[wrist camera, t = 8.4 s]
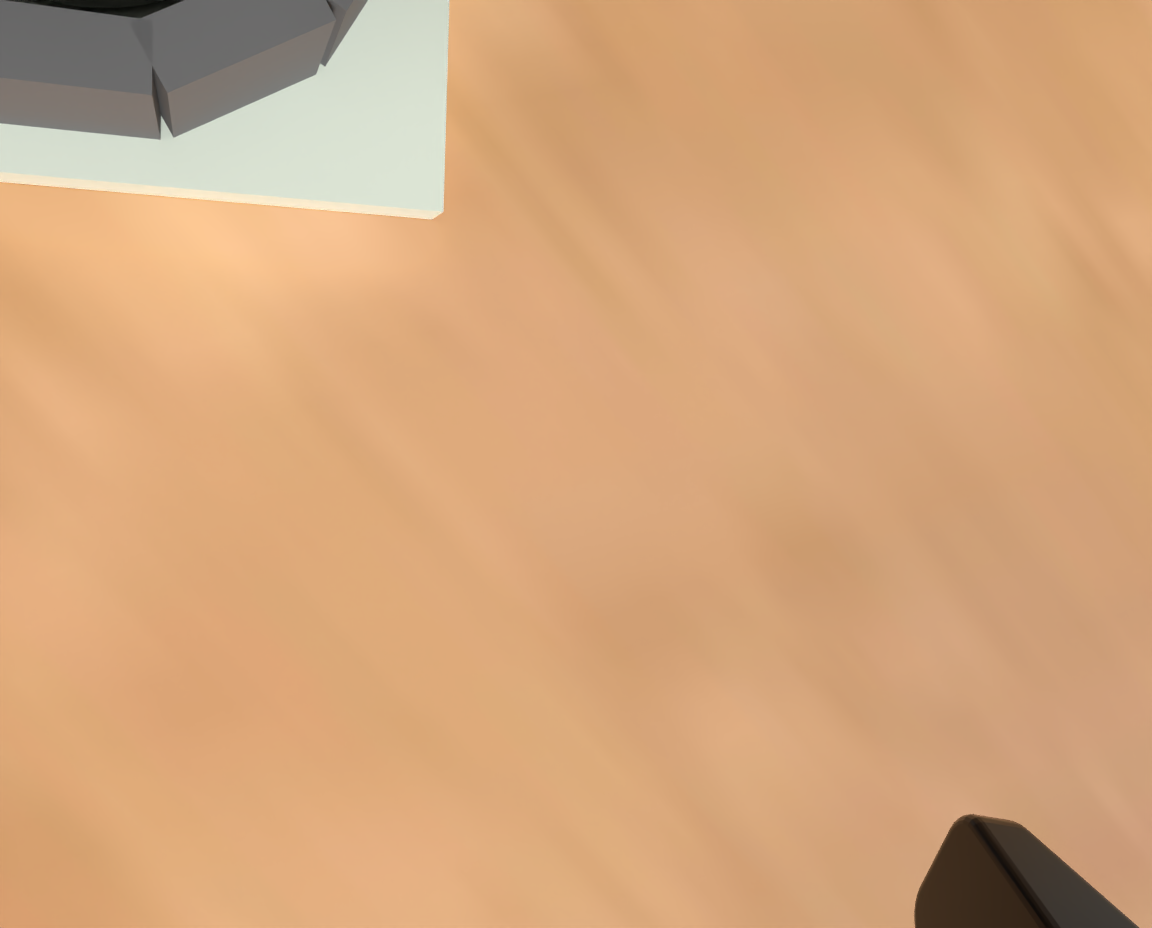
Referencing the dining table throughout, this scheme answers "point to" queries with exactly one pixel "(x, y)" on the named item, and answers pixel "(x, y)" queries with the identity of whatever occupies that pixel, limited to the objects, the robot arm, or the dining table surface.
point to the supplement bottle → (106, 3)
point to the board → (285, 131)
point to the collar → (159, 61)
